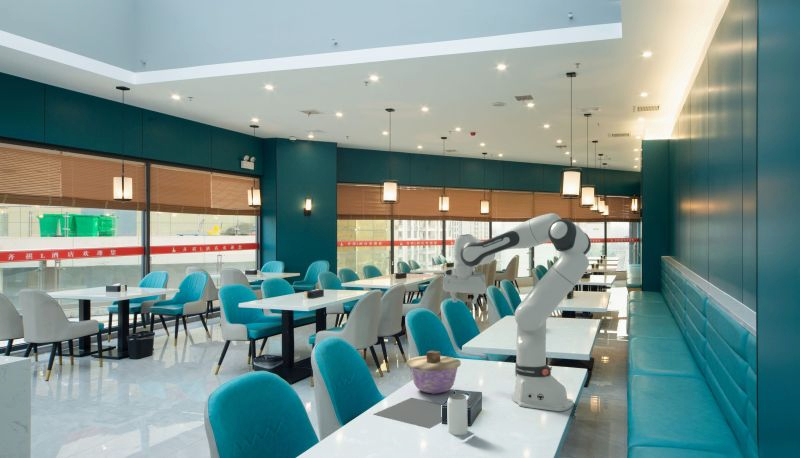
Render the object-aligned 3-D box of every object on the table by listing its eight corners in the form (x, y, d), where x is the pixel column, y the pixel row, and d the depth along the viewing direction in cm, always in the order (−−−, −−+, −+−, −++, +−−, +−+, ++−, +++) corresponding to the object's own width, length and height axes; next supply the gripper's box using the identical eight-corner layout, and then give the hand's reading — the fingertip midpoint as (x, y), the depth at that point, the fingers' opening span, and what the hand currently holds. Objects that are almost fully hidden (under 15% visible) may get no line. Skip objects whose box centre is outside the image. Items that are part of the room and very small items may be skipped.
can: (466, 437, 174) (466, 399, 174) (446, 436, 175) (446, 398, 175) (468, 430, 180) (468, 393, 180) (448, 429, 181) (448, 392, 181)
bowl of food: (399, 394, 221) (399, 365, 221) (426, 382, 237) (426, 355, 237) (442, 402, 209) (442, 372, 209) (467, 389, 226) (467, 361, 226)
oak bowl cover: (470, 361, 226) (470, 350, 226) (442, 373, 208) (442, 360, 208) (425, 355, 239) (425, 344, 239) (395, 365, 221) (395, 353, 221)
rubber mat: (465, 410, 200) (465, 408, 200) (429, 430, 180) (429, 428, 180) (411, 399, 214) (411, 397, 214) (372, 415, 195) (372, 414, 195)
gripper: (488, 271, 236) (488, 303, 236) (448, 270, 248) (448, 300, 248) (481, 272, 231) (482, 305, 231) (440, 270, 243) (441, 302, 243)
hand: (464, 302), depth 240 cm, fingers open, 8 cm apart
